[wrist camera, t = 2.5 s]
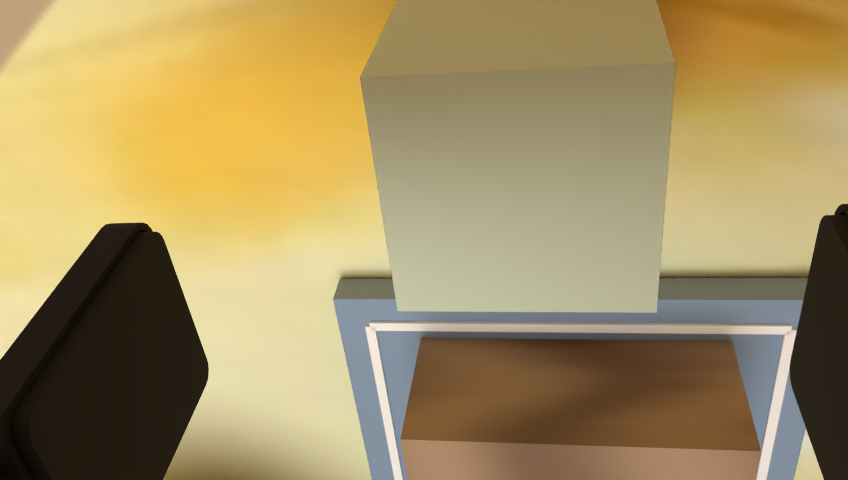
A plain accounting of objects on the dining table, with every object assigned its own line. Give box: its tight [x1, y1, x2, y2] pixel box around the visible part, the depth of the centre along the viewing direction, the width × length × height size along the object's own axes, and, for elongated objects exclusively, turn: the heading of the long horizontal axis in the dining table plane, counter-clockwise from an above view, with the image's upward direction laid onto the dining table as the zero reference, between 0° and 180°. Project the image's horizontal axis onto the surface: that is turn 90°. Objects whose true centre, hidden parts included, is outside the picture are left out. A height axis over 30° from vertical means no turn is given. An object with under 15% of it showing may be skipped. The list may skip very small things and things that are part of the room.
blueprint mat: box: [333, 278, 808, 480], centre depth 26 cm, size 14×12×1 cm
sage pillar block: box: [360, 0, 676, 313], centre depth 17 cm, size 5×5×7 cm
